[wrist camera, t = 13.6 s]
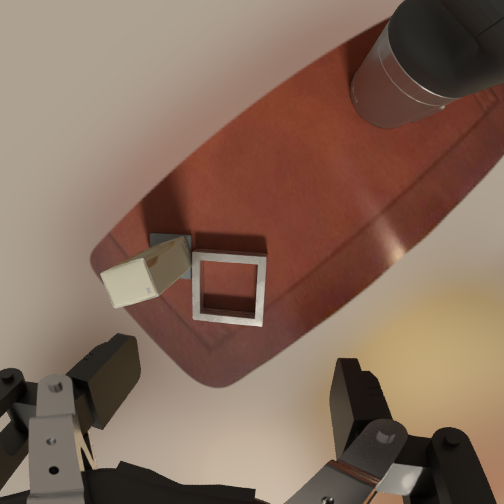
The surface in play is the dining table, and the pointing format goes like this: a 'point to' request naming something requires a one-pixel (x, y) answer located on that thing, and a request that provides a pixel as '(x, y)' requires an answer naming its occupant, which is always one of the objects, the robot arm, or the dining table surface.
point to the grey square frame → (222, 314)
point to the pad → (160, 238)
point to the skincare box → (147, 272)
